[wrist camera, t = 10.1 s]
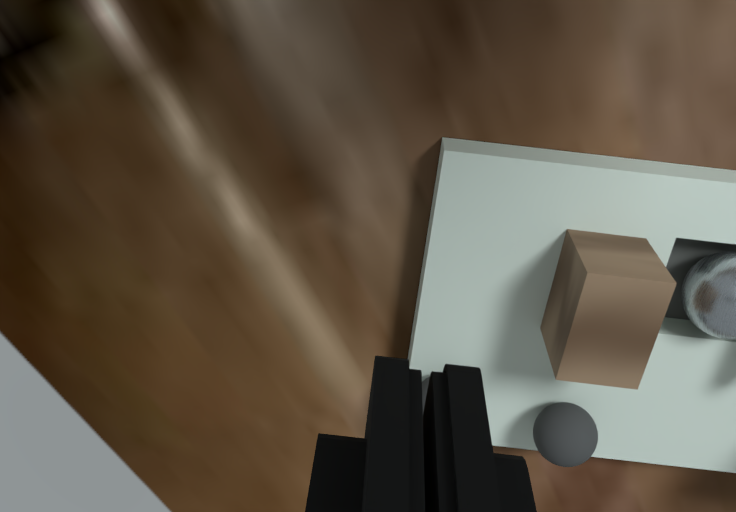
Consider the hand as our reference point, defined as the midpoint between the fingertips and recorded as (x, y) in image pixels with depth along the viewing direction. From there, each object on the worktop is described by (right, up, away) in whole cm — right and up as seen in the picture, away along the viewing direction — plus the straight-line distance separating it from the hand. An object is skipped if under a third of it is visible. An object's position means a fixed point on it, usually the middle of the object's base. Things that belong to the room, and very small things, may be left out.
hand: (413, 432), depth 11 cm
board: (+13, 0, +28) cm, 31 cm away
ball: (+10, -7, +27) cm, 30 cm away
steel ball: (+18, +1, +24) cm, 30 cm away
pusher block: (+11, +1, +25) cm, 27 cm away
